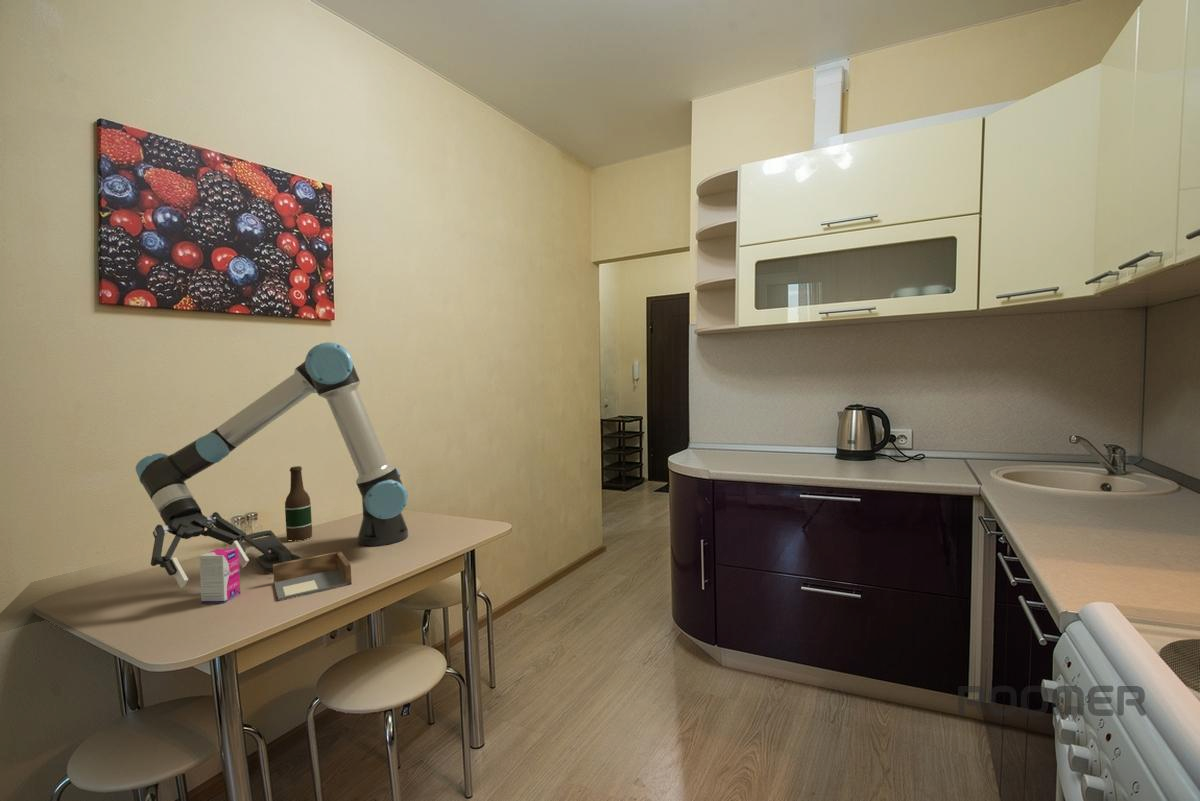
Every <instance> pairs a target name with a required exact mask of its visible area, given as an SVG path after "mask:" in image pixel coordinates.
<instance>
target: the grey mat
mask: <svg viewBox="0 0 1200 801" xmlns="http://www.w3.org/2000/svg"><path fill="white" fill-rule="evenodd" d="M347 584H348V585H346V582H345V580H344V578H343V577H342V575H341V574H340V572H339V570H338V569H336V570H331V571H326V572H322V573H317V574H312V575H307V576H303V577H298V578H293V579H289V580H284V581H279V582H274V581H273V585H275V586H274V589H276V590H275V594H276V593H277V594H276V598H277V597H278V598H277V601H278V600H281V601H283V600H282V599H285V600H288V599H287V598H290V599H293V598H292V597H294V598H297V597H296V596H298V597H302V596H301V595H303V596H306V594H307V595H310V594H311V595H312V594H316V593H320V592H324V590H325V591H328V589H329V590H333V589H337V587H338V588H341V586H342V587H345V586H346V587H347V586H349V583H347ZM350 584H351V583H350ZM351 585H352V584H351ZM332 588H333V589H332Z"/></svg>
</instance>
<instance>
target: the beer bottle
mask: <svg viewBox="0 0 1200 801" xmlns="http://www.w3.org/2000/svg"><path fill="white" fill-rule="evenodd" d="M302 471H303V468H302V466H299V465H298V466H296V465H295V466H291V467H290V468H289V472H290V489H289V493H288V495H287V496H286V499H285V502H284V515H285V528H286V529H285V530H286V533H285V534H286V540H287V541H288V540H292V541H295V540H303V541H305V540H304V539H306V540H308V539H307V538H309V539H311V538H312V536H313V524H312V523H313V522H312V506H311V504H312V503H311V498H310V496H309V493H308V492H307V491H306V490H305V488H304V482H303V474H302ZM310 537H311V538H310ZM292 541H291V542H292Z"/></svg>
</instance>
